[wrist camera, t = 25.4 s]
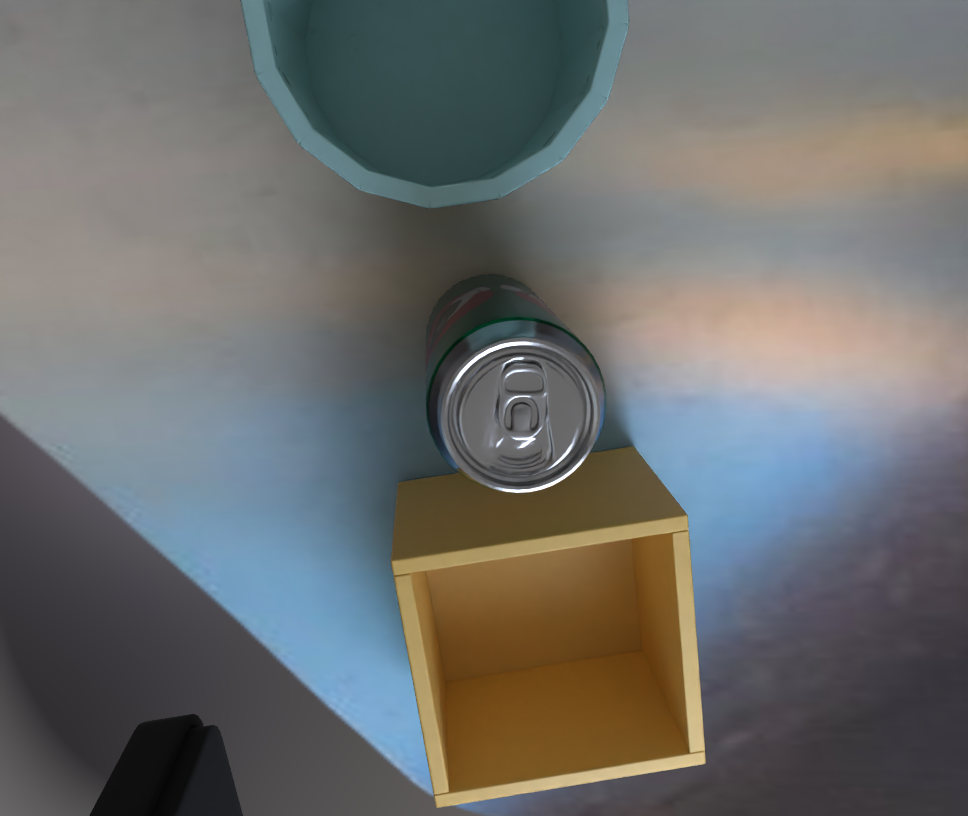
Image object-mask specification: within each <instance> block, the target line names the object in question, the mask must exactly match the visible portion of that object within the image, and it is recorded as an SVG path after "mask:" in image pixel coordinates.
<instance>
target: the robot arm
mask: <svg viewBox="0 0 968 816" xmlns="http://www.w3.org/2000/svg"><path fill="white" fill-rule="evenodd" d="M90 816H243V814H242V811H241V807H240V803H239V799H238V796H237V792H236V788H235V784H234V780H233V777H232V773H231V769H230V765H229V761H228V758H227V754H226V750H225V746H224V743H223V739H222V736H221V733H220V730H219V729H218V727H217V726H215V725H210V726H205V727H204V726H203V723H202V721H201V719H200V718H199V717H198V716H197V715H195V714H191V715H184V716H178V717H172V718H165V719H159V720H153V721H147V722H143V723H141V724H139V725H138V726H137V728H136V729H135V731H134V733H133V734H132V736H131V738H130V740H129V742H128V744H127V746H126V747H125V749H124V751H123V753H122V755H121V757H120V759H119V761H118V763H117V764H116V766H115V768H114V770H113V772H112V774H111V776H110V778H109V780H108V781H107V784H106V785H105V787H104V789H103V791H102V793H101V795H100V797H99V799H98V800H97V802H96V804H95V806H94V808H93V810H92V812H91V814H90Z"/></svg>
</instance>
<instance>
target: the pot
mask: <svg viewBox="0 0 968 816" xmlns="http://www.w3.org/2000/svg"><path fill="white" fill-rule="evenodd" d="M240 1H241V6H242V11H243V16H244V21H245V26H246V31H247V36H248V41H249V46H250V51H251V56H252V61H253V66H254V71H255V74H256V75H257V79H258V81H259V82H260V84H261V85H262V87H263V89H264V90H265V92H266V93H267V95H268V97H269V98H270V100H271V101H272V103H273V105H274V106H275V108H276V110H277V111H278V113H279V114H280V116H281V118H282V119H283V121H284V122H285V124H286V126H287V127H288V129H289V130H290V132H291V134H292V135H293V137H294V139H295V140H296V142H298V143H299V145H300V146H301V147H302V148H304V149H305V150H306V151H308V152H309V153H310V154H312V155H313V156H314V157H316V158H317V159H318V160H320V161H321V162H322V163H324V164H325V165H326V166H328V167H329V168H330V169H332V170H333V171H334V172H336V173H337V174H338V175H340V176H341V177H342V178H343V179H345V180H346V181H347V182H349V183H350V184H351V185H353V186H354V187H355V188H357V189H360V190H361V191H364V192H367V193H371V194H375V195H379V196H382V197H386V198H390V199H394V200H398V201H401V202H405V203H409V204H413V205H416V206H420V207H424V208H432V209H433V208H440V207H447V206H454V205H461V204H468V203H475V202H482V201H489V200H496V199H499V198H503V197H504V196H506V195H508V194H509V193H511V192H513V191H514V190H516V189H518V188H519V187H521V186H523V185H524V184H526V183H528V182H529V181H531V180H533V179H534V178H536V177H537V176H539V175H541V174H542V173H544V172H546V171H547V170H549V169H551V168H552V167H554V166H556V165H557V164H559V163H561V161H562V160H564V159H565V157H566V156H567V155H568V153H569V152H570V151H571V149H572V148H573V147H574V145H575V144H576V143H577V141H578V140H579V139H580V137H581V136H582V135H583V133H584V132H585V131H586V129H587V128H588V127H589V125H590V124H591V123H592V121H593V120H594V119H595V117H596V116H597V115H598V113H599V112H600V111H601V109H602V108H603V106H604V105H605V104H606V102H607V99H608V98H609V95H610V91H611V88H612V84H613V80H614V77H615V73H616V70H617V66H618V63H619V59H620V56H621V52H622V49H623V45H624V42H625V38H626V34H627V31H628V27H629V25H628V23H629V12H628V0H240Z"/></svg>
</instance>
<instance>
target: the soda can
mask: <svg viewBox="0 0 968 816" xmlns="http://www.w3.org/2000/svg"><path fill="white" fill-rule="evenodd" d="M605 413H606V390H605V384H604V380H603V377H602V374H601V371H600V368H599V366H598V364H597V362H596V361H595V359H594V357H593V355H592V354H591V353H590V351H589V350H588V349H587V347H586V346H585V345H584V344H583V343H582V342H581V341H580V340H579V339H578V338H577V337H576V335H575V334H574V333H573V332H572V331H571V330H570V329H569V328H568V327H567V326H566V325H565V324H564V323H563V322H562V321H561V320H560V319H559V318H558V317H557V316H556V315H555V314H554V313H553V311H552V310H551V309H550V308H549V307H548V306H547V305H546V304H545V303H544V302H543V301H542V300H541V299H540V298H539V297H538V296H537V295H536V294H535V293H534V292H533V291H532V290H531V289H530V288H528V287H527V286H525V285H524V284H522V283H521V282H519V281H517V280H514V279H512V278H509V277H505V276H501V275H480V276H475V277H471V278H469V279H466V280H463V281H461V282H460V283H458V284H456V285H454V286H453V287H452V288H451V289H449V290H448V291H447V292H446V293H445V294H444V295H443V296H442V297H441V298H440V299H439V301H438V302H437V304H436V305H435V307H434V309H433V311H432V313H431V315H430V318H429V322H428V326H427V333H426V414H427V422H428V426H429V430H430V433H431V436H432V438H433V441H434V443H435V445H436V447H437V449H438V450H439V452H440V453H441V455H442V457H443V458H444V459H445V460H446V461H447V462H448V463H449V465H450V466H451V467H452V468H454V469H455V470H456V471H457V472H458V473H460V474H461V475H462V476H464V477H465V478H467V479H469V480H470V481H472V482H474V483H477V484H479V485H482V486H484V487H487V488H491V489H495V490H501V491H505V492H517V493H518V492H531V491H535V490H540V489H543V488H546V487H549V486H551V485H554V484H556V483H557V482H559V481H561V480H563V479H564V478H566V477H567V476H568V475H570V474H571V473H572V472H574V471H575V470H576V469H577V467H578V466H579V465H580V464H581V463H582V462H583V461H584V459H585V458H586V457H587V455H588V454H589V453H590V451H591V450H592V448H593V447H594V445H595V443H596V441H597V439H598V437H599V435H600V433H601V430H602V426H603V423H604V419H605Z"/></svg>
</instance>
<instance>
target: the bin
mask: <svg viewBox="0 0 968 816" xmlns="http://www.w3.org/2000/svg"><path fill="white" fill-rule="evenodd" d="M391 566H392V571H393V574H394V582H395V587H396V593H397V598H398V604H399V609H400V614H401V620H402V625H403V631H404V636H405V642H406V647H407V652H408V658H409V663H410V669H411V674H412V679H413V685H414V690H415V696H416V701H417V706H418V712H419V717H420V723H421V728H422V734H423V739H424V744H425V750H426V755H427V761H428V766H429V771H430V777H431V782H432V788H433V793H434V799H435V804H436V807H437V808H438V807H445V806H451V805H457V804H463V803H469V802H475V801H481V800H487V799H493V798H500V797H506V796H512V795H518V794H524V793H530V792H536V791H542V790H548V789H554V788H560V787H566V786H573V785H579V784H585V783H591V782H597V781H603V780H609V779H615V778H621V777H627V776H633V775H639V774H646V773H652V772H658V771H664V770H670V769H676V768H682V767H688V766H694V765H700V764H705V763H706V760H705V751H704V750H705V745H704V731H703V718H702V704H701V690H700V677H699V663H698V649H697V636H696V622H695V608H694V594H693V581H692V567H691V553H690V540H689V531H688V515H687V514H686V512H685V511H684V510H683V509H682V507H681V506H680V505H679V503H678V502H677V501H676V500H675V498H674V497H673V496H672V495H671V493H670V492H669V491H668V489H667V488H666V487H665V486H664V484H663V483H662V482H661V480H660V479H659V478H658V477H657V475H656V474H655V473H654V472H653V470H652V469H651V468H650V466H649V465H648V464H647V463H646V461H645V460H644V459H643V457H642V456H641V455H640V454H639V452H638V451H637V450H636V448H635V447H634V446H631V447H625V448H618V449H612V450H605V451H598V452H592V453H589V454H588V455H587V457H586V458H585V459H584V461H583V462H582V463H581V464H580V465H579V466H578V467H577V469H576V470H575V471H574V472H572V473H571V474H570V475H568V476H567V477H566V478H564V479H563V480H561V481H559V482H557V483H556V484H554V485H551V486H549V487H546V488H543V489H540V490H535V491H531V492H518V493H517V492H505V491H501V490H495V489H491V488H487V487H484V486H482V485H479V484H477V483H474V482H472V481H470V480H469V479H467V478H465V477H464V476H462V475H461V474H460V473H454V474H448V475H441V476H435V477H428V478H421V479H415V480H408V481H402V482H398V488H397V499H396V510H395V521H394V531H393V542H392V553H391Z"/></svg>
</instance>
